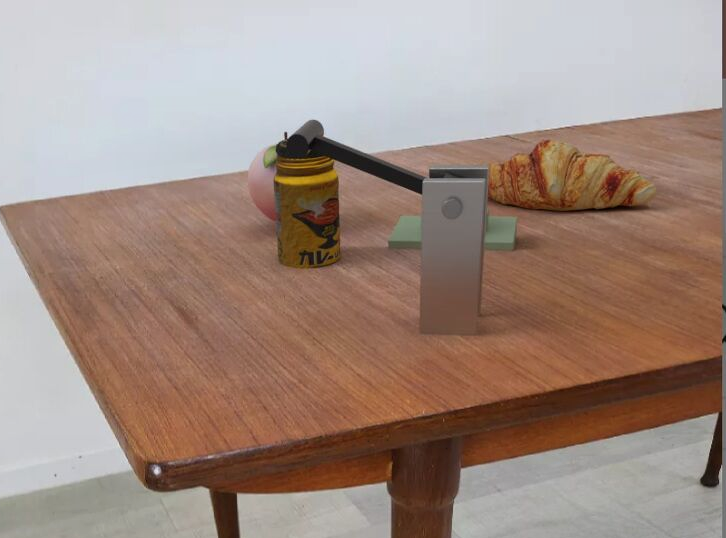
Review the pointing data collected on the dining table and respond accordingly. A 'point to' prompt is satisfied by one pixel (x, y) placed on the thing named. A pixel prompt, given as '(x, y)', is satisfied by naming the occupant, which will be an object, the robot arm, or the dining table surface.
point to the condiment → (306, 210)
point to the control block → (496, 235)
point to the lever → (350, 156)
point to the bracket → (452, 249)
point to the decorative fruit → (264, 180)
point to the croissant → (566, 180)
